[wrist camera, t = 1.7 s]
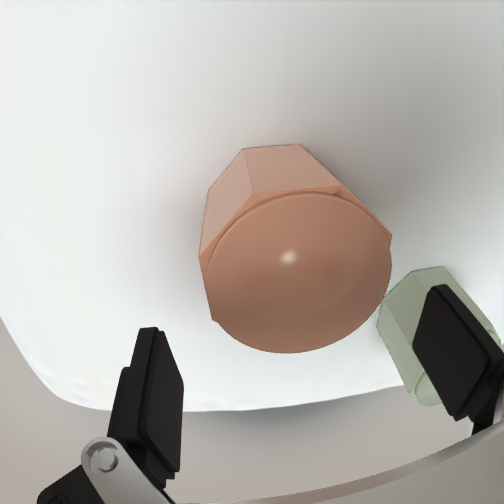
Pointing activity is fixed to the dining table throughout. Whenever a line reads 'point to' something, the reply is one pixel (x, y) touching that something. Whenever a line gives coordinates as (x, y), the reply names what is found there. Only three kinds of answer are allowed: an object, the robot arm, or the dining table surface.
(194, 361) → the dining table surface
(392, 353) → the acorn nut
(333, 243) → the peach octagonal canister
